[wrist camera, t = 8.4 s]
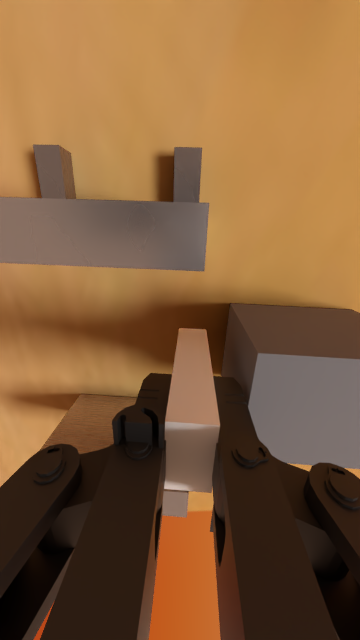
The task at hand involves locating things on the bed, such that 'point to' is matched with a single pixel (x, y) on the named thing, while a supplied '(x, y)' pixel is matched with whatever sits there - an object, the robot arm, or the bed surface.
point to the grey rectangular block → (299, 379)
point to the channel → (105, 259)
